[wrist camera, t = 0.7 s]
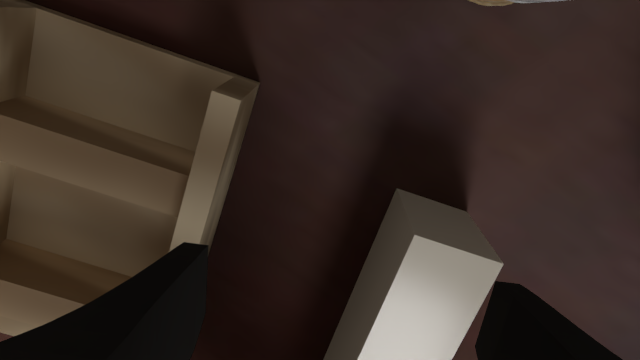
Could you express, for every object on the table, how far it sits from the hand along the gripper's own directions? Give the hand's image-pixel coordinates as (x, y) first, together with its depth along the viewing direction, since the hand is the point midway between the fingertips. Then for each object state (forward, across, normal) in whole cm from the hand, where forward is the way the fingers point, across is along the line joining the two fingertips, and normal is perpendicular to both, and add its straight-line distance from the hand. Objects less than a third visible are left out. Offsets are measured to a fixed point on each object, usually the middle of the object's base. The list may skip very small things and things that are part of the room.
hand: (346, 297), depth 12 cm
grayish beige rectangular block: (+10, -3, +8) cm, 13 cm away
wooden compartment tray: (+10, +10, +4) cm, 15 cm away
